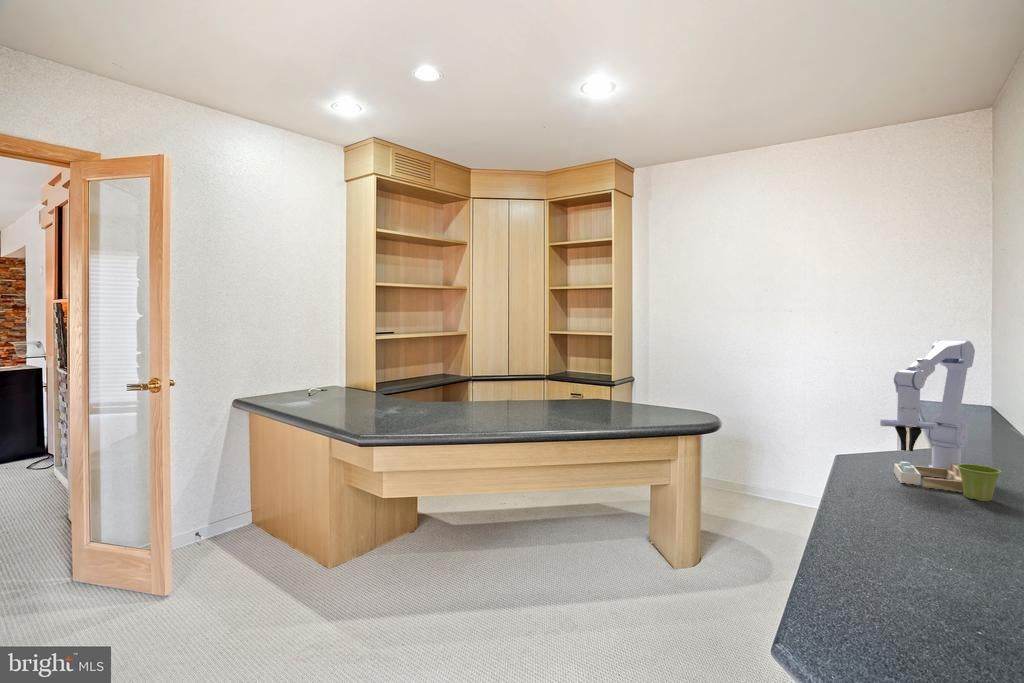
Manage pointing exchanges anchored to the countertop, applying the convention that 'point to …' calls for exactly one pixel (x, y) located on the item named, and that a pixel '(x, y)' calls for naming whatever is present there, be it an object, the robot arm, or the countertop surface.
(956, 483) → the light wooden angled piece
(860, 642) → the countertop surface
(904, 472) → the white box
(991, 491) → the plant pot
